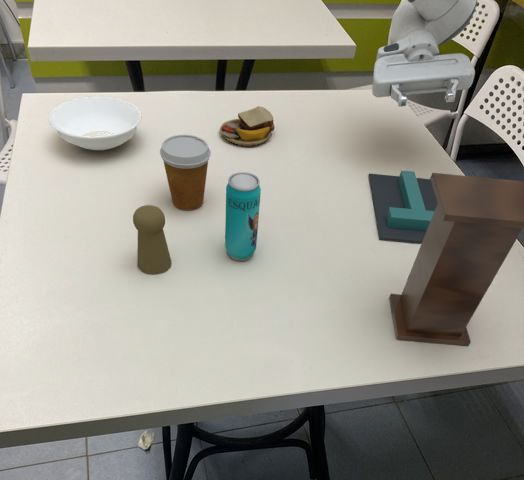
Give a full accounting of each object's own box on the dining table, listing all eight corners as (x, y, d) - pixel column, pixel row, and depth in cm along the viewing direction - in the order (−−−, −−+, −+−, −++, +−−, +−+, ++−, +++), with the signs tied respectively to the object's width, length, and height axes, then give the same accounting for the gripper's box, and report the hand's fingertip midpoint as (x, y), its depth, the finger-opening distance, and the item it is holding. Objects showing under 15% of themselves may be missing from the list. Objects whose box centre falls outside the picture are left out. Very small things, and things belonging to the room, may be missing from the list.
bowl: (58, 170, 105) (51, 141, 100) (52, 126, 117) (45, 98, 112) (152, 160, 110) (149, 133, 105) (136, 120, 122) (133, 93, 117)
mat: (437, 182, 113) (437, 179, 113) (458, 247, 98) (460, 244, 97) (368, 175, 113) (368, 173, 112) (379, 239, 97) (380, 237, 97)
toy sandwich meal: (213, 125, 123) (213, 106, 119) (264, 121, 127) (265, 102, 123) (228, 150, 116) (229, 130, 112) (281, 144, 119) (284, 125, 116)
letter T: (430, 183, 112) (434, 173, 110) (446, 232, 100) (451, 222, 98) (378, 178, 111) (381, 168, 109) (388, 227, 99) (391, 217, 97)
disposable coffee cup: (218, 209, 100) (218, 153, 91) (173, 219, 97) (169, 162, 88) (200, 185, 105) (199, 130, 96) (157, 193, 102) (152, 137, 93)
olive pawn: (129, 264, 87) (120, 211, 79) (153, 248, 91) (147, 195, 82) (155, 279, 85) (148, 226, 77) (178, 261, 89) (174, 209, 80)
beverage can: (249, 266, 89) (254, 193, 78) (219, 257, 90) (220, 184, 79) (260, 248, 93) (266, 176, 81) (231, 240, 94) (234, 167, 82)
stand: (458, 303, 87) (523, 181, 69) (471, 346, 81) (547, 223, 62) (386, 297, 87) (432, 172, 68) (393, 339, 80) (445, 214, 62)
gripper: (463, 68, 107) (476, 110, 100) (368, 77, 109) (374, 119, 102) (471, 38, 101) (485, 81, 95) (370, 48, 103) (377, 91, 97)
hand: (426, 101), depth 99 cm, fingers open, 8 cm apart
